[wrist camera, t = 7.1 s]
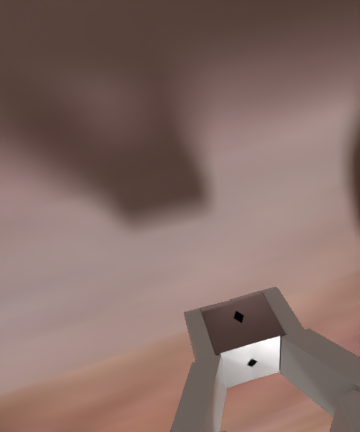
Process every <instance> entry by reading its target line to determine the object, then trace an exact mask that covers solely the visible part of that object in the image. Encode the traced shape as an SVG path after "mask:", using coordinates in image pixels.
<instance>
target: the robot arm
mask: <svg viewBox="0 0 360 432" xmlns="http://www.w3.org/2000/svg"><path fill="white" fill-rule="evenodd" d="M184 316H185V321H186V325H187V329H188V333H189V338H190V342H191V346H192V350H193V354H194V357H195V361H196V362H193V363H192V364H191V368H190V371H189V374H188V377H187V380H186V383H185V386H184V389H183V393H182V396H181V399H180V402H179V405H178V408H177V411H176V415H175V418H174V421H173V424H172V427H171V430H170V432H219V430H220V425H221V419H222V414H223V408H224V403H225V397H226V392H227V388H228V387H231V386H234V385H237V384H240V383H243V382H246V381H249V380H252V379H256V378H260V377H263V376H267V375H271V374H274V373H278V372H280V374H281V375H283V376H284V377H285V378H286V379H287V380H289V381H290V382H291V383H292V384H293V385H295V386H296V387H297V388H298V389H300V390H301V391H302V392H303V393H304V394H306V395H307V396H308V397H309V398H311V399H312V400H313V401H314V402H315V403H317V404H318V405H319V406H320V407H321V408H323V409H324V410H325V411H326V412H328V413H329V414H330V415H331V416H332V417H333V420H332V424H331V428H330V432H360V357H358V356H356V355H355V354H353V353H351V352H349V351H348V350H346V349H344V348H343V347H341V346H339V345H337V344H336V343H334V342H332V341H330V340H329V339H327V338H325V337H323V336H322V335H320V334H318V333H316V332H315V331H313V330H311V329H309V328H308V329H304V328H303V327H302V325H301V323H300V322H299V320H298V319H297V317H296V316H295V314H294V312H293V311H292V309H291V308H290V306H289V305H288V303H287V301H286V300H285V298H284V297H283V295H282V294H281V292H280V290H279V289H278V288H277V287H272V288H269V289H266V290H262V291H257V292H254V293H250V294H247V295H244V296H240V297H237V298H234V299H230V300H229V301H225V302H221V303H217V304H213V305H209V306H205V307H201V308H200V309H199V308H198V309H194V310H190V311H187V312H184ZM222 432H226V431H222Z"/></svg>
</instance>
